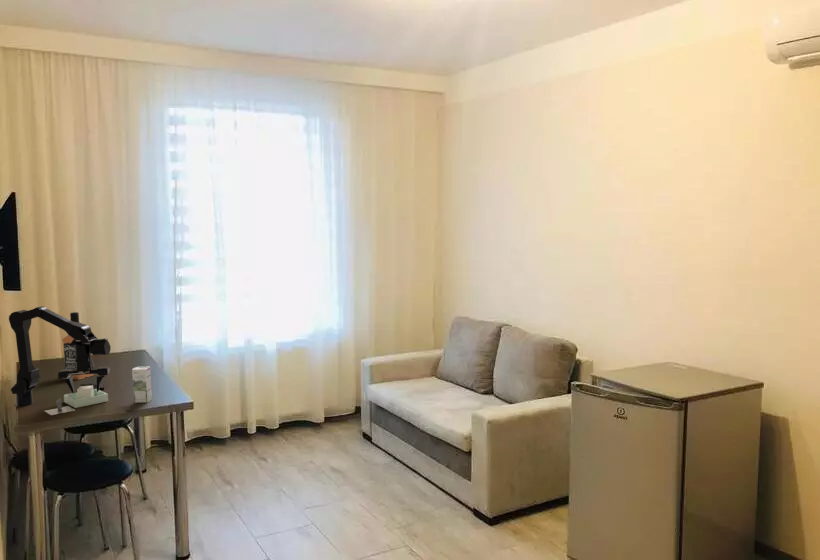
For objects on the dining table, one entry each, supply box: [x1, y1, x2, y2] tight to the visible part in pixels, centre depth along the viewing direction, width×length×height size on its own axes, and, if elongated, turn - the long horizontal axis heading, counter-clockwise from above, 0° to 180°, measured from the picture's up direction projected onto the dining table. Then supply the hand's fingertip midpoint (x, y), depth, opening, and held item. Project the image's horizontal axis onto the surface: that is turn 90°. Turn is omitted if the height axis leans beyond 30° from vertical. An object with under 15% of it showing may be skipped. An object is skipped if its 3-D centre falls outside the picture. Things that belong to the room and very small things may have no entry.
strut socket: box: [76, 385, 94, 399], centre depth 276 cm, size 5×5×6 cm
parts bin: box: [63, 388, 109, 409], centre depth 277 cm, size 13×13×4 cm
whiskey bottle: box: [61, 311, 95, 380], centre depth 326 cm, size 10×10×32 cm
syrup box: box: [131, 365, 153, 404], centre depth 278 cm, size 6×6×14 cm
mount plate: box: [44, 398, 76, 416], centre depth 264 cm, size 9×9×6 cm
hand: (85, 392), depth 276 cm, fingers open, 9 cm apart
